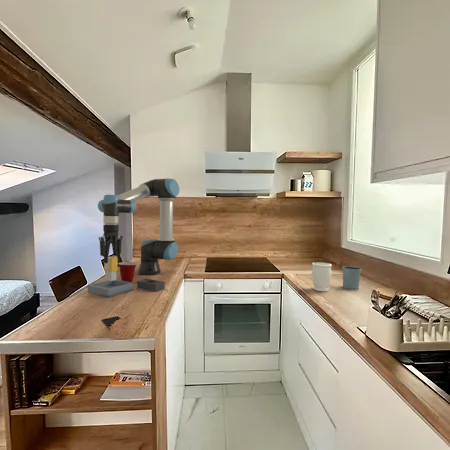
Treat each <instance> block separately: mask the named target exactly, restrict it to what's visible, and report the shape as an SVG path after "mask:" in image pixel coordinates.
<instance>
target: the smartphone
mask: <svg viewBox="0 0 450 450" xmlns="http://www.w3.org/2000/svg"><path fill="white" fill-rule="evenodd" d="M119 319H122V318H121V317H120V316H111V317H108V318H107V317H106V318H104V319H100V322H102V323H103V324H104V326H105V327H106V326H107V327H106V328H107V329H108V328H109V327H110V326H112V325H111V324H114V322H115V321H116V320H119ZM109 329H110V328H109ZM109 329H108V330H109Z"/></svg>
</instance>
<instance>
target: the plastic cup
mask: <svg viewBox="0 0 450 450" xmlns="http://www.w3.org/2000/svg"><path fill="white" fill-rule="evenodd" d="M137 264H138V263H137V262H132V261H131V262H128V261H126V262H125V261H122V262H118V268H119V272H120V278H121V281H126V282H131V283H133V281H134V276H135V270H136V267H137Z"/></svg>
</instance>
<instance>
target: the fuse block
mask: <svg viewBox="0 0 450 450" xmlns="http://www.w3.org/2000/svg"><path fill="white" fill-rule="evenodd" d="M165 283H166V282H165V281H161V280H159V279H158V280H157V279H151V278H143V279H139V280H136V288H137V289H141V290H145V291H148V292H149V291H150V292H159V291H163V290H165V289H166V287H165V285H166V284H165Z"/></svg>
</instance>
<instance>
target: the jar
mask: <svg viewBox="0 0 450 450" xmlns="http://www.w3.org/2000/svg"><path fill="white" fill-rule="evenodd" d="M311 265H312V270H311V278H312V284H313V290H314V291H318V292H329V290H330V288H329V287H330V286H331V285H330V284H331V280H332V266H333V265H332V264H331V263H328V262H321V261H320V262H319V261H317V262H312V264H311Z"/></svg>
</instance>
